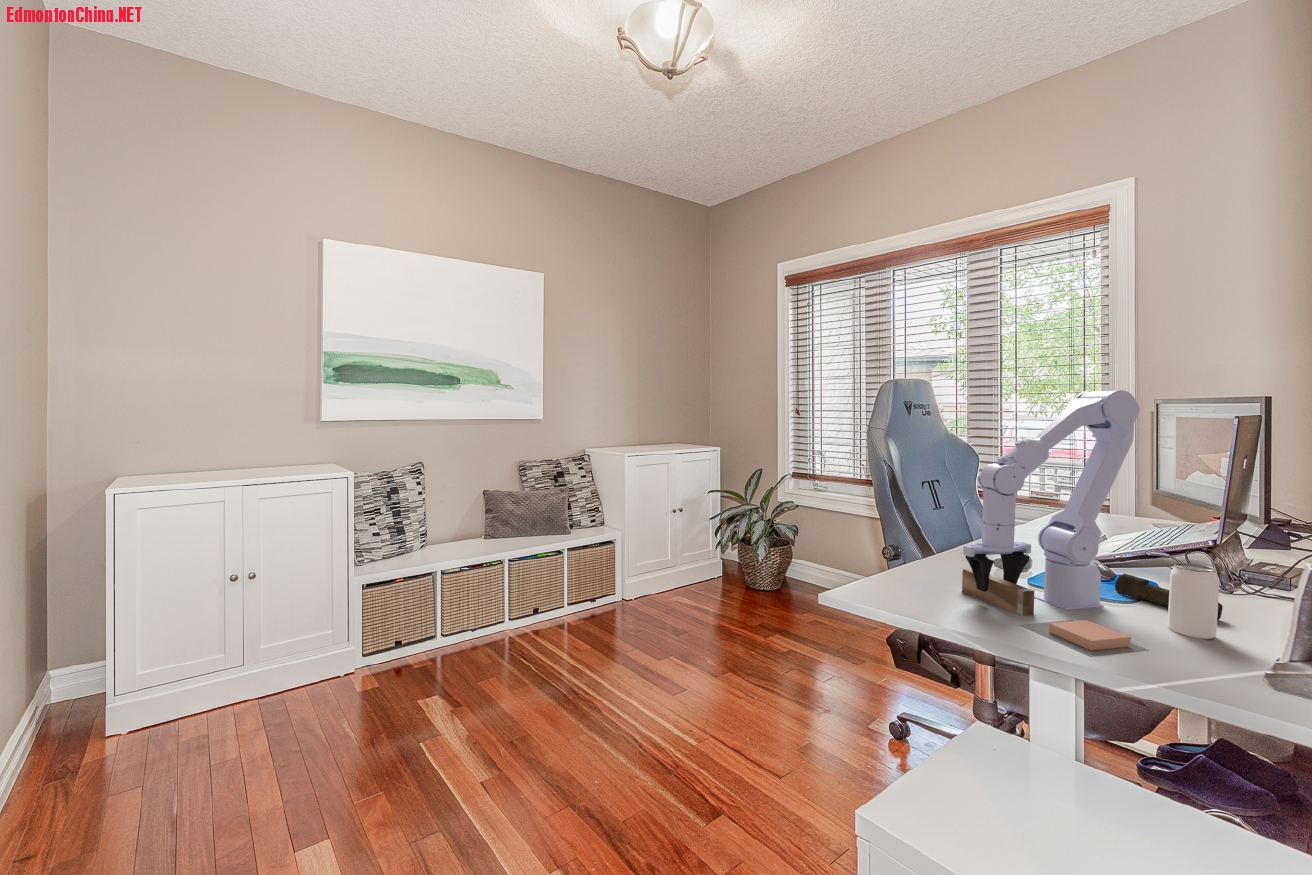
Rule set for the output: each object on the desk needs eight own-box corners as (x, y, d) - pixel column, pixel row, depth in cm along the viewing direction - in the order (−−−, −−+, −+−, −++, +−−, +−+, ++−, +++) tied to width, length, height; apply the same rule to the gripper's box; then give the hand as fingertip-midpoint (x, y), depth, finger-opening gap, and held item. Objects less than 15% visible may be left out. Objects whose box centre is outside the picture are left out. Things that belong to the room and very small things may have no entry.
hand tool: (1224, 622, 113) (1225, 598, 113) (1208, 623, 112) (1209, 599, 112) (1125, 591, 132) (1126, 570, 131) (1110, 592, 131) (1111, 571, 130)
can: (1220, 643, 102) (1224, 574, 102) (1171, 635, 106) (1174, 568, 105) (1210, 631, 108) (1214, 565, 107) (1164, 624, 111) (1167, 560, 111)
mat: (1072, 622, 112) (1072, 619, 112) (1149, 652, 98) (1149, 649, 98) (1018, 626, 109) (1018, 624, 109) (1089, 658, 96) (1090, 656, 96)
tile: (1086, 619, 107) (1130, 636, 99) (1085, 629, 107) (1130, 647, 99) (1049, 623, 105) (1091, 640, 97) (1048, 633, 105) (1091, 651, 97)
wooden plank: (972, 591, 130) (972, 568, 130) (1033, 616, 115) (1034, 590, 114) (961, 592, 130) (962, 568, 129) (1022, 617, 114) (1023, 591, 114)
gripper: (1012, 518, 127) (1010, 581, 128) (953, 520, 124) (951, 585, 124) (1040, 524, 120) (1038, 591, 121) (979, 527, 117) (976, 596, 117)
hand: (995, 589), depth 122 cm, fingers open, 6 cm apart
